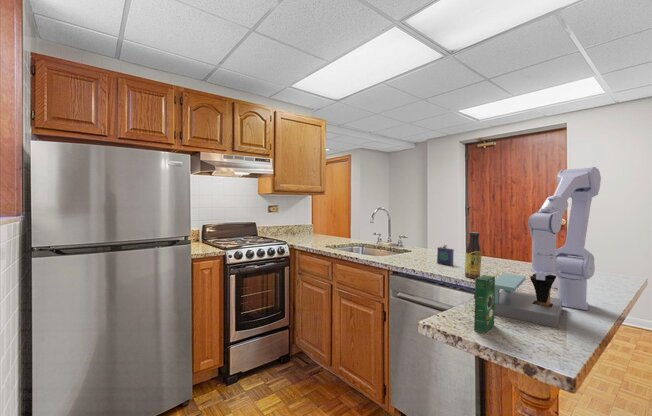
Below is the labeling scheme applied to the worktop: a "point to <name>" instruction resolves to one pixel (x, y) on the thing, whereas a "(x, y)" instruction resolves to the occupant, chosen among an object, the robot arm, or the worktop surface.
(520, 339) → the worktop surface
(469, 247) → the sauce bottle
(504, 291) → the socket stand
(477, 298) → the coffee box
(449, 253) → the flask
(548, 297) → the peg
